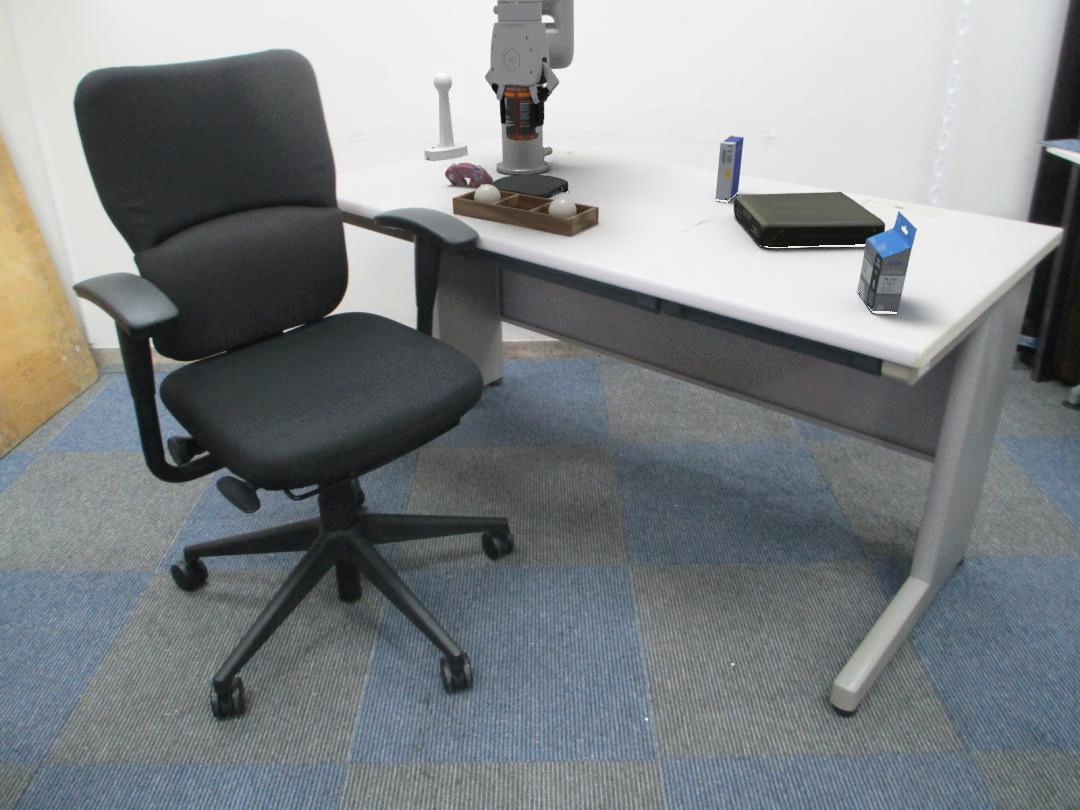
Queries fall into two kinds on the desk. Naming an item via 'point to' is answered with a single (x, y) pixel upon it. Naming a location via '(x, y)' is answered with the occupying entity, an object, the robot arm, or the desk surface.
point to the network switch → (806, 219)
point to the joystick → (445, 124)
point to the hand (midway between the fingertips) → (522, 123)
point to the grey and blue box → (886, 266)
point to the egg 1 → (487, 194)
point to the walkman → (729, 167)
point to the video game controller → (468, 174)
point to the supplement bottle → (519, 114)
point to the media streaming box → (532, 185)
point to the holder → (526, 213)
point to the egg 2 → (562, 207)
